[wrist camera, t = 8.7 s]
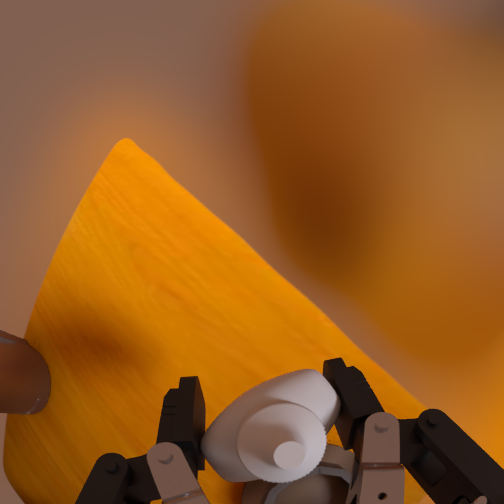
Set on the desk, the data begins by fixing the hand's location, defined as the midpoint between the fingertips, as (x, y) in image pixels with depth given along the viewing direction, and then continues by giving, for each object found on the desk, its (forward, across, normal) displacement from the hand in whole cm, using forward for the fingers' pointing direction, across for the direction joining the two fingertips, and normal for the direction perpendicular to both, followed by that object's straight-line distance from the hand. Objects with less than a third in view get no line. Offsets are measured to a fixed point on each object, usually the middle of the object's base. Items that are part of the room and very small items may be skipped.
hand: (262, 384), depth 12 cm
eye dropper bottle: (+3, 0, +5) cm, 6 cm away
